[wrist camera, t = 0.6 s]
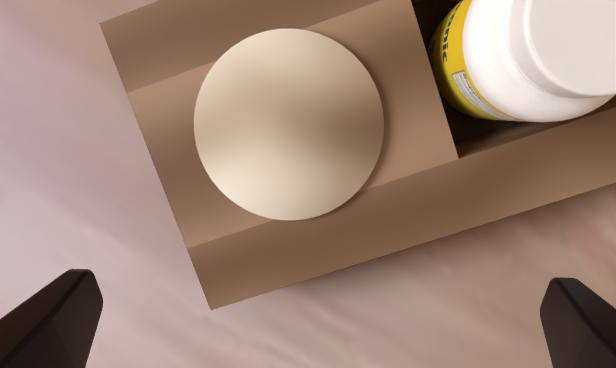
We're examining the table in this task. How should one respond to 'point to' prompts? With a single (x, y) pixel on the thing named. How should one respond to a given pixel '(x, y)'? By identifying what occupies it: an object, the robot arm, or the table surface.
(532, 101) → the supplement bottle
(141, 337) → the table surface
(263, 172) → the pocket block
